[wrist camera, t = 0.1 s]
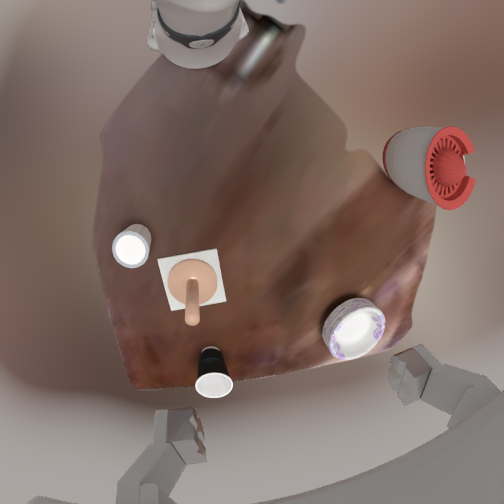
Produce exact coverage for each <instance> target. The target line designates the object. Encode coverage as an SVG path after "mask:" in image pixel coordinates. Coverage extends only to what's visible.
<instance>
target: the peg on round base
mask: <svg viewBox="0 0 504 504" xmlns="http://www.w3.org/2000/svg"><path fill="white" fill-rule="evenodd" d="M168 288H169V291H170V293H171V294H172V296H173V297H174V298H175V299H176V300H177V301H179V302H181V303H183V304H186V305H185V322H186V323H187V324H188V325H196V324H198V323H199V320H200V317H199V305H200V304H203V303H205V302H207V301H209V300H210V299H211V298H212V297H213V296H214V294H215V292H216V290H217V276H216V273H215V271H214V269H213V268H212V267H211V266H210V265H209V264H208V263H206V262H205V261H202V260H199V259H185V260H182V261H180V262H178V263H177V264H176V265H175V266H174V267H173V268H172V270H171V271H170V274H169V278H168Z"/></svg>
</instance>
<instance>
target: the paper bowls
mask: <svg viewBox="0 0 504 504" xmlns="http://www.w3.org/2000/svg"><path fill="white" fill-rule="evenodd" d="M384 328H385V317H384V315H383V313H382V312H381V310H379V309H378V307H376V306H375V305H374V304H373V303H372V302H371V301H370V300H368V299H365V298H354V299H350V300H347V301H345V302H344V303H342V304H340V305H339V306H338V307H336V308H335V309H334V310H333V311H332V313H331V314H330V315H329V316H328V318H327V319H326V321H325V324H324V326H323V331H322V336H323V340H324V342H325V344H326V346H327V347H328V349H329V350H330V352H331V354H332V355H333V356H335V357H336V358H338V359H341V360H351V359H355V358H358V357H360V356H362V355H364V354H366V353H367V352H369V351H370V350H371V349H372V348H373V347H374V346H375V345H376V344H377V343H378V341H379V340H380V338H381V336H382V334H383V332H384Z"/></svg>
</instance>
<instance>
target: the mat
mask: <svg viewBox="0 0 504 504" xmlns="http://www.w3.org/2000/svg"><path fill="white" fill-rule="evenodd" d="M185 259H199V260H202V261H205V262H206V263H208V264H209V265H210V266H211V267H212V268H213V269H214V271H215V273H216V276H217V290H216V292H215V294H214V296H213V297H212V298H211V299H210V300H209V301H207V302H205V303H203V304H200V305H199V306H203V305H209V304H214V303H220V302H226V298H225V292H224V287H223V281H222V276H221V270H220V265H219V259H218V253H217V248H215V249H210V250H204V251H198V252H193V253H187V254H181V255H176V256H170V257H165V258H159V259H157V260H158V264H159V268H160V272H161V276H162V279H163V283H164V287H165V290H166V294H167V297H168V301H169V304H170V308H171V311H173V310H179V309H185V305H186V304H183V303H181V302H179V301H177V300H176V299H175V298H174V297H173V296H172V294H171V293H170V291H169V288H168V278H169V274H170V271H171V270H172V268H173V267H174V266H175V265H176V264H177V263H178V262H180V261H182V260H185Z"/></svg>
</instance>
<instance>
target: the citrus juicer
mask: <svg viewBox="0 0 504 504" xmlns="http://www.w3.org/2000/svg"><path fill="white" fill-rule="evenodd" d="M472 152H474V148H473V145H472V143H471V141H470V139H469V138H468V137H467V135H466V134H465V133H464V132H462V131H461V130H460V129H458V128H456V127H451V126H449V127H444V128H442V127H423V126H421V127H413V128H408V129H405V130H403V131H400V132H398V133H396V134H395V135H393V136H392V137H391V138H390V139H389V140H388V142H387V143H386V145H385V147H384V151H383V164H384V168H385V171H386V173H387V175H388V176H389V178H390V179H391V180H392V181H393V182H394V183H395V184H396V185H397V186H399V187H400V188H401V189H402V190H404V191H405V192H407V193H408V194H411V195H413V196H415V197H417V198H420V199H423V200H426V201H428V202H431V203H434V204H436V205H438V206H440V207H442V208H443V209H447V210H452V209H456V208H458V207H460V206H461V205H463V204H464V203H465V202H466V201H467V199H468V198H469V196H470V195H471V193H472V190H473V188H474V184H475V179H474V178H471V177H469V176H466V172H467V170H466V166H465V160H464V155H465V154H470V153H472Z"/></svg>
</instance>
